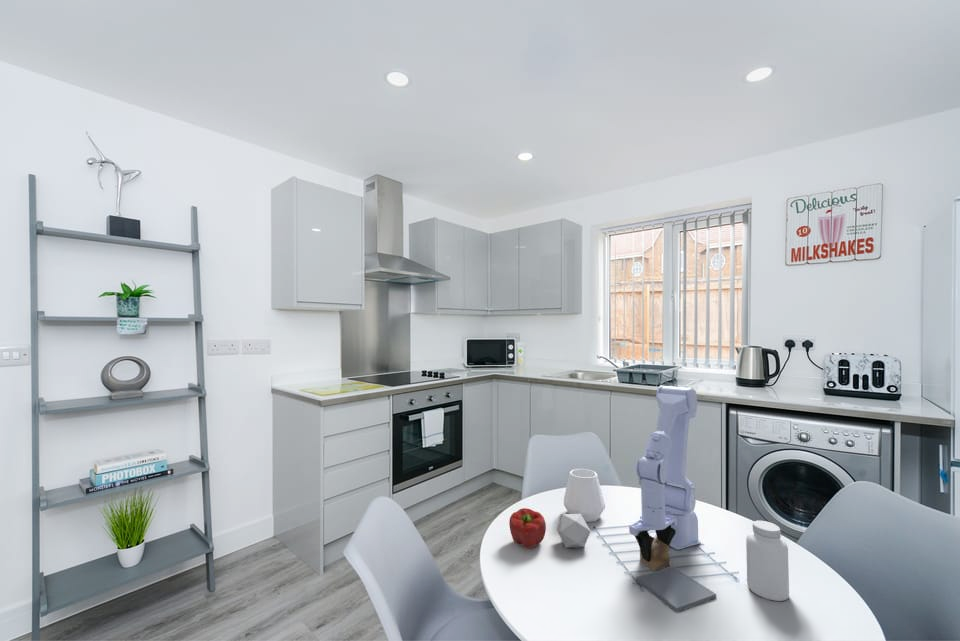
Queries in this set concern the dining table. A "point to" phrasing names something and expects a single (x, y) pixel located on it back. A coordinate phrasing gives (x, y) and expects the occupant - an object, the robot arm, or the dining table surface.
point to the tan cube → (658, 555)
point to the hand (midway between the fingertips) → (654, 557)
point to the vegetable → (527, 527)
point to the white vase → (584, 495)
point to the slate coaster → (675, 588)
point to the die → (573, 530)
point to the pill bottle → (767, 562)
